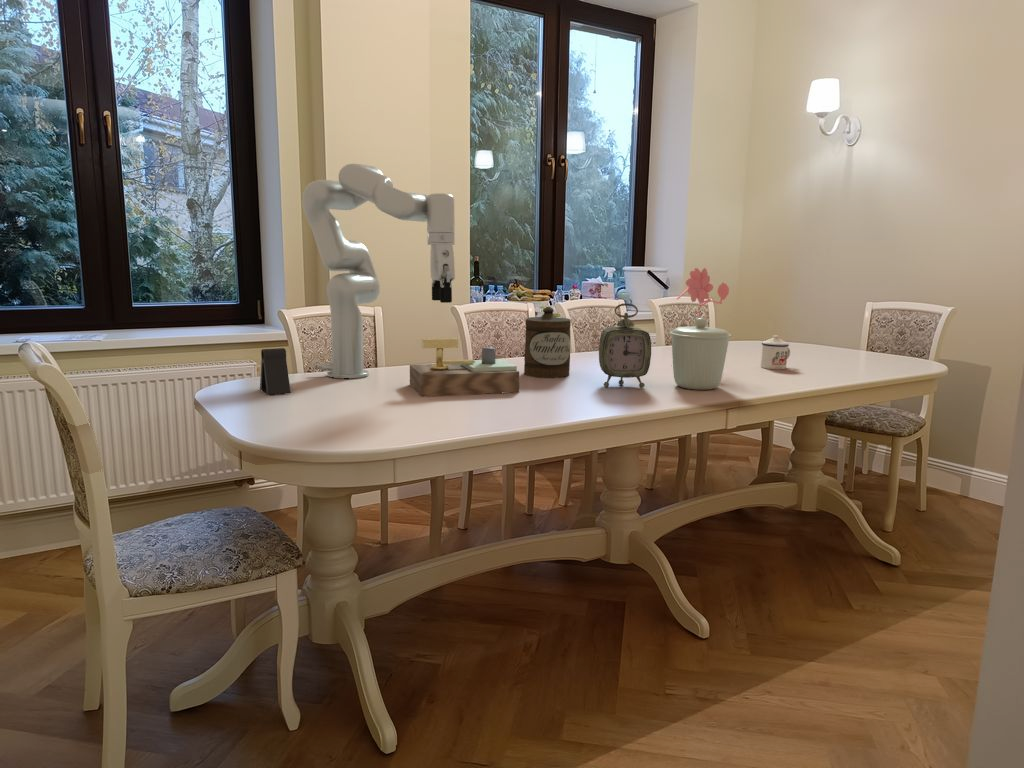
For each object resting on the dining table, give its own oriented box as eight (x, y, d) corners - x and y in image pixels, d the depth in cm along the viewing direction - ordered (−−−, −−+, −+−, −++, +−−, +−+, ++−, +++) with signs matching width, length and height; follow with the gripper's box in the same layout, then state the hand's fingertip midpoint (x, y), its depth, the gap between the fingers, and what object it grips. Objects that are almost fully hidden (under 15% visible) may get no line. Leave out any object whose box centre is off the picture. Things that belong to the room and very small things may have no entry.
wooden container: (531, 378, 235) (532, 308, 231) (519, 370, 249) (520, 304, 245) (575, 377, 238) (578, 308, 234) (561, 369, 253) (563, 305, 249)
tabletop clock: (600, 388, 220) (604, 304, 216) (596, 383, 229) (599, 301, 225) (649, 389, 221) (654, 305, 216) (642, 383, 230) (647, 302, 225)
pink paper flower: (684, 360, 280) (689, 266, 273) (735, 371, 257) (741, 269, 251) (652, 363, 273) (656, 266, 266) (701, 375, 250) (706, 269, 243)
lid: (472, 371, 209) (472, 351, 208) (461, 364, 221) (461, 345, 220) (516, 370, 213) (517, 350, 212) (503, 363, 225) (503, 344, 224)
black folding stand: (259, 390, 208) (258, 347, 205) (281, 388, 211) (280, 346, 209) (268, 395, 200) (266, 351, 198) (290, 393, 203) (289, 350, 201)
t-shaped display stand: (424, 370, 209) (424, 340, 207) (420, 367, 213) (420, 338, 212) (475, 368, 213) (476, 339, 212) (471, 366, 218) (471, 337, 216)
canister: (654, 386, 226) (658, 316, 222) (687, 379, 239) (691, 314, 235) (707, 395, 213) (712, 322, 210) (738, 388, 226) (744, 318, 222)
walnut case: (421, 396, 203) (421, 375, 202) (409, 384, 220) (409, 364, 219) (518, 392, 212) (519, 371, 211) (500, 381, 228) (500, 362, 227)
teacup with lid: (773, 370, 261) (776, 337, 259) (754, 366, 269) (757, 334, 267) (798, 368, 266) (801, 336, 264) (778, 364, 274) (781, 333, 272)
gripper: (462, 239, 200) (462, 303, 203) (446, 240, 216) (447, 299, 219) (435, 238, 197) (435, 303, 200) (421, 239, 213) (421, 299, 216)
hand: (441, 301), depth 209 cm, fingers open, 9 cm apart
